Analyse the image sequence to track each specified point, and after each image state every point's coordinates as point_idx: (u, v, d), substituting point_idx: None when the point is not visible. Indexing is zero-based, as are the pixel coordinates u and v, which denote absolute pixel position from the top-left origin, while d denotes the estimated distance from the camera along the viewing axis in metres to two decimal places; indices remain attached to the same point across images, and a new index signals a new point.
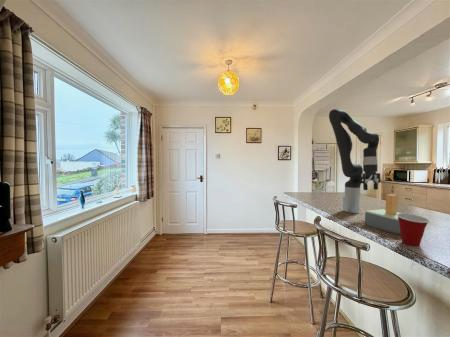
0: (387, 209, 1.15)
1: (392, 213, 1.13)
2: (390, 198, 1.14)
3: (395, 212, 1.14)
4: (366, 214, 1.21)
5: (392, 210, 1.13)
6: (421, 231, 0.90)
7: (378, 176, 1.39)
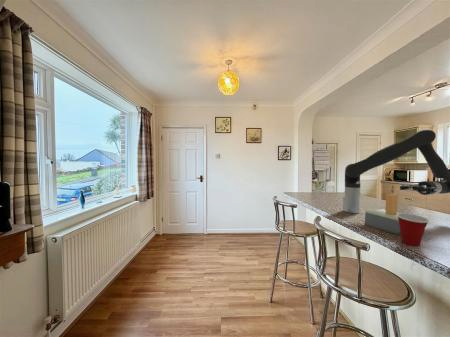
0: (387, 209, 1.15)
1: (392, 213, 1.13)
2: (390, 198, 1.14)
3: (395, 212, 1.14)
4: (366, 214, 1.21)
5: (392, 210, 1.13)
6: (421, 231, 0.90)
7: (408, 188, 1.26)
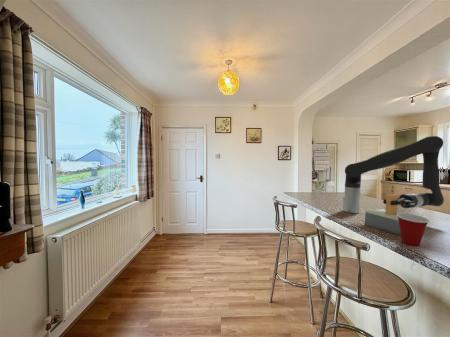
0: (387, 209, 1.15)
1: (392, 213, 1.13)
2: (390, 198, 1.14)
3: (395, 212, 1.14)
4: (366, 214, 1.21)
5: (392, 210, 1.13)
6: (421, 231, 0.90)
7: None
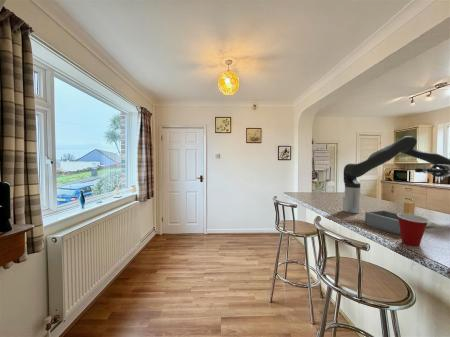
0: None
1: None
2: (408, 205, 1.24)
3: None
4: (366, 214, 1.21)
5: None
6: (421, 231, 0.90)
7: (422, 171, 1.35)
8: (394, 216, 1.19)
